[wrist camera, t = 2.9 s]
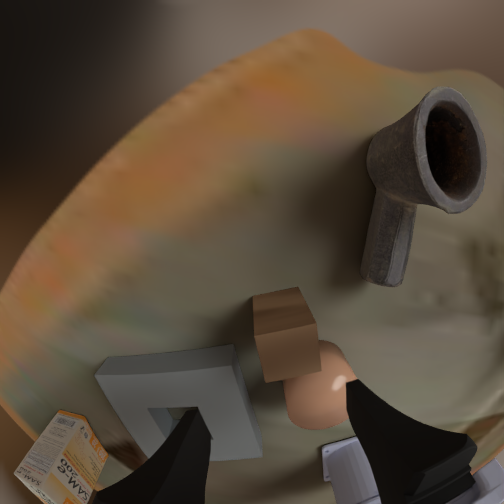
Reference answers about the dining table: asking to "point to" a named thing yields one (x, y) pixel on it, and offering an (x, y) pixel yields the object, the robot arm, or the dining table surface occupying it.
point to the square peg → (285, 335)
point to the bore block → (183, 398)
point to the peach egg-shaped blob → (320, 391)
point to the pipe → (420, 176)
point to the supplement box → (63, 461)
